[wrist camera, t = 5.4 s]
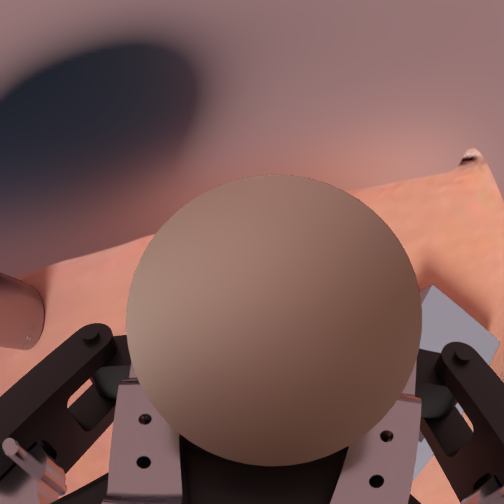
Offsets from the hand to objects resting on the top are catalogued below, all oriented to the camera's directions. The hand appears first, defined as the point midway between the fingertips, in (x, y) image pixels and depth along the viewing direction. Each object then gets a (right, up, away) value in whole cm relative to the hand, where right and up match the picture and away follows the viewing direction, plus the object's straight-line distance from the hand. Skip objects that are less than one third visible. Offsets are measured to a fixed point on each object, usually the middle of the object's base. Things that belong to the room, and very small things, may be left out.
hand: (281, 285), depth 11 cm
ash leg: (0, -4, +5) cm, 6 cm away
